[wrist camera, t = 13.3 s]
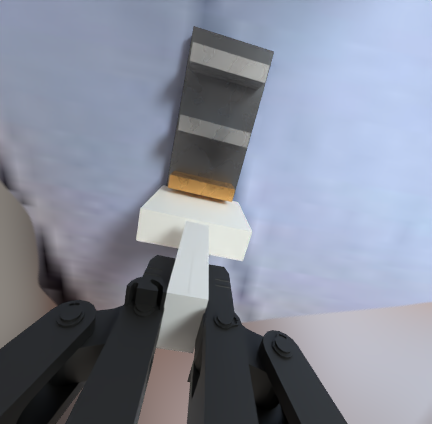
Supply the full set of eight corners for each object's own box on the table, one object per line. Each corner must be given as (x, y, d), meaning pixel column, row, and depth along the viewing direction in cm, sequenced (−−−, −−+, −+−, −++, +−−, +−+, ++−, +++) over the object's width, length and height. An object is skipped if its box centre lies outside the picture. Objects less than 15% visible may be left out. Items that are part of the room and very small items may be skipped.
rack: (194, 32, 18) (191, 7, 15) (270, 56, 19) (284, 38, 15) (159, 236, 24) (151, 252, 21) (217, 248, 25) (219, 264, 22)
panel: (162, 185, 21) (140, 208, 14) (238, 202, 22) (252, 231, 15) (159, 207, 22) (136, 240, 15) (231, 223, 23) (242, 261, 16)
